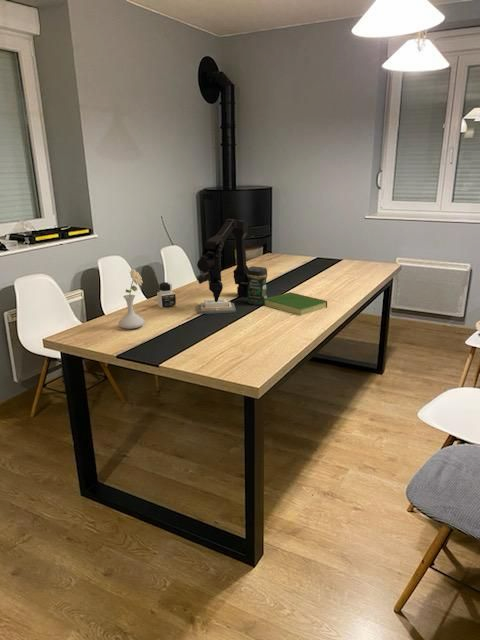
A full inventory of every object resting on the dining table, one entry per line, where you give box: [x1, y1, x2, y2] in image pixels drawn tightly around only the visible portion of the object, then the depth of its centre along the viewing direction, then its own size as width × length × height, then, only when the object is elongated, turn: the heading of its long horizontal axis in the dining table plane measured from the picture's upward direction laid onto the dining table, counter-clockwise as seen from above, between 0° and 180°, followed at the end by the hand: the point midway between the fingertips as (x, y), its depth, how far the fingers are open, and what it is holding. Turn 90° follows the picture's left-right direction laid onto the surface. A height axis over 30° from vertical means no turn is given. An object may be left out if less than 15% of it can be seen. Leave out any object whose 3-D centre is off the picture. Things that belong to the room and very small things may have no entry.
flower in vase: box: [117, 268, 146, 330], centre depth 208 cm, size 13×11×25 cm
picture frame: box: [203, 298, 229, 308], centre depth 233 cm, size 11×6×3 cm, turn 100°
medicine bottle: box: [156, 281, 177, 310], centre depth 238 cm, size 7×7×12 cm
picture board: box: [196, 301, 237, 315], centre depth 233 cm, size 18×13×2 cm
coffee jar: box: [247, 265, 268, 306], centre depth 240 cm, size 10×8×19 cm
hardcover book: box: [264, 292, 328, 316], centre depth 236 cm, size 25×19×4 cm
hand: (215, 299), depth 232 cm, fingers open, 9 cm apart
